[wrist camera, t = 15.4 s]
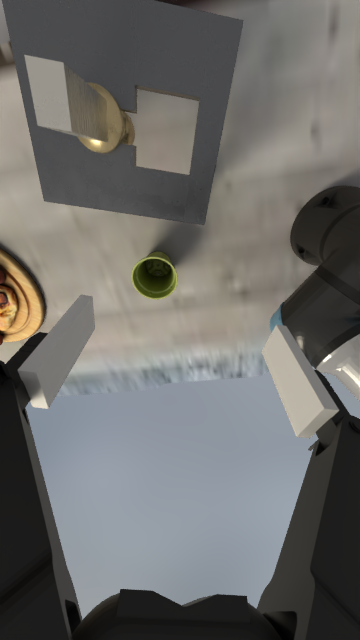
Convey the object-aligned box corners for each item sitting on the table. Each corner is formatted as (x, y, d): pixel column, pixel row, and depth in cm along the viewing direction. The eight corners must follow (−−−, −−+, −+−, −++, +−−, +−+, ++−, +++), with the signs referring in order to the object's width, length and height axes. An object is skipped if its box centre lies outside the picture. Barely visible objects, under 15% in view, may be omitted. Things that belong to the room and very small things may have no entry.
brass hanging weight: (137, 108, 29) (85, 42, 14) (136, 158, 33) (93, 152, 17) (95, 100, 29) (-7, 23, 13) (99, 152, 32) (20, 140, 17)
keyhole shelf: (219, 77, 33) (243, 20, 20) (197, 207, 43) (204, 225, 30) (72, 47, 31) (-6, -36, 18) (86, 190, 42) (44, 201, 29)
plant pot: (136, 242, 48) (128, 256, 41) (178, 244, 48) (178, 257, 41) (140, 281, 53) (133, 298, 46) (177, 282, 53) (177, 300, 46)
